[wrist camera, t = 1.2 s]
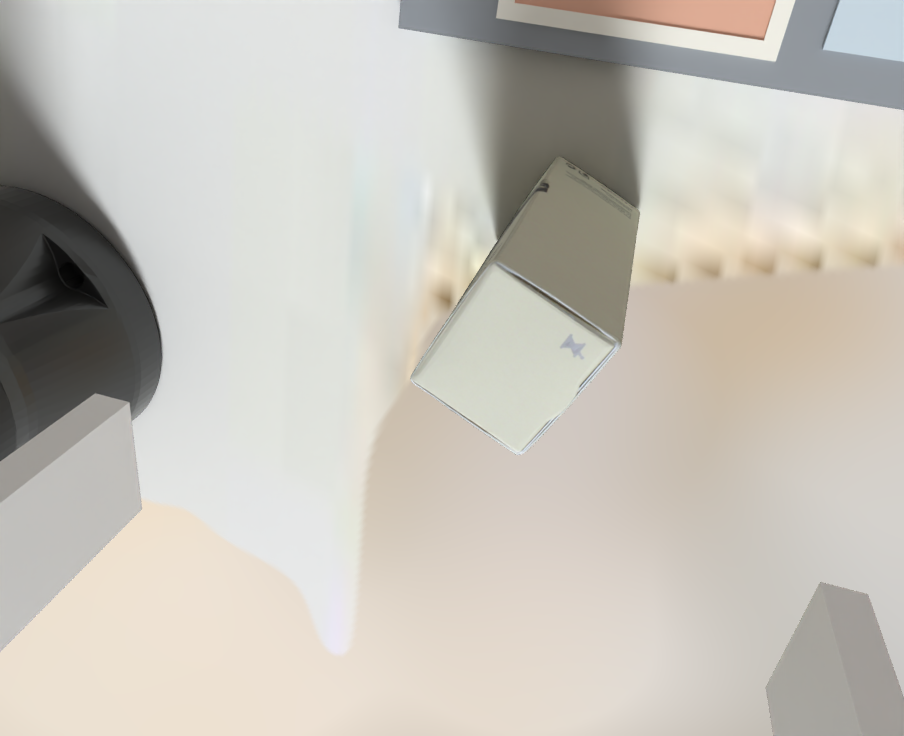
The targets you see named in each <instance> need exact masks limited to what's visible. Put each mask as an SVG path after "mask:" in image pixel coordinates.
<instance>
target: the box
mask: <svg viewBox="0 0 904 736" xmlns="http://www.w3.org/2000/svg"><path fill="white" fill-rule="evenodd" d="M639 216H640V212H639V210H638V209H636V208H635V207H633V206H632V205H631V204H629V203H628V202H627V201H625V200H624V199H623V198H621V197H620V196H618V195H617V194H616V193H614V192H613V191H611V190H610V189H609V188H607V187H606V186H604V185H603V184H601V183H600V182H598V181H597V180H595V179H594V178H593V177H591V176H590V175H588V174H587V173H585V172H584V171H582V170H581V169H579V168H578V167H576V166H575V165H573V164H572V163H570V162H569V161H567V160H565V159H564V158H562V157H557V158H556V159H555V160H554V161H553V162H552V164H551V165H550V167H549V168H548V169H547V171H546V172H545V173H544V175H543V176H542V177H541V179H540V180H539V181H538V183H537V184H536V186H535V187H534V188H533V190H532V191H531V193H530V194H529V195H528V197H527V198H526V200H525V201H524V202H523V204H522V205H521V206H520V208H519V209H518V211H517V213H516V214H515V216H514V217H513V219H512V220H511V222H510V223H509V225H508V226H507V228H506V229H505V231H504V232H503V234H502V235H501V237H500V238H499V240H498V241H497V243H496V244H495V246H494V247H493V249H492V250H491V252H490V253H489V255H488V257H487V258H486V260H485V261H484V263H483V264H482V266H481V268H480V269H479V271H478V272H477V274H476V275H475V277H474V279H473V280H472V282H471V283H470V285H469V286H468V288H467V289H466V291H465V293H464V294H463V296H462V297H461V299H460V301H459V302H458V304H457V306H456V307H455V309H454V310H453V312H452V313H451V315H450V316H449V318H448V319H447V321H446V322H445V324H444V325H443V327H442V328H441V330H440V331H439V333H438V334H437V336H436V337H435V338H434V340H433V342H432V343H431V345H430V346H429V348H428V349H427V351H426V352H425V354H424V356H423V357H422V359H421V360H420V362H419V364H418V365H417V367H416V368H415V370H414V372H413V373H412V375H411V378H410V379H411V382H412V383H413V384H414V385H416V386H417V387H419V388H420V389H422V390H423V391H425V392H426V393H428V394H429V395H431V396H432V397H434V398H435V399H436V400H437V401H439V402H441V403H442V404H443V405H444V406H446V407H447V408H449V409H450V410H451V411H453V412H455V413H456V414H457V415H459V416H460V417H461V418H463V419H464V420H466V421H467V422H468V423H470V424H471V425H473V426H474V427H476V428H477V429H478V430H480V431H481V432H483V433H484V434H486V435H487V436H489V437H490V438H492V439H493V440H495V441H496V442H497V443H499V444H501V445H502V446H504V447H505V448H506V449H508V450H509V451H511V452H512V453H514V454H515V455H521V454H524V453H525V452H526V451H528V450H529V449H530V448H531V447H532V446H533V445H534V444H535V443H536V442H537V441H538V440H539V439H540V438H541V437H542V435H544V433H545V432H546V431H547V430H548V429H549V428H550V427H551V426H552V425H553V423H555V422H556V421H557V420H558V418H559V417H560V416H561V415H562V414H563V413H564V412H565V411H566V410H567V409H568V408H569V407H570V406H571V404H572V403H573V402H574V401H575V400H576V398H577V397H578V396H579V395H580V394H581V393H582V392H583V390H584V389H585V388H586V387H587V386H588V385H589V384H590V383H591V382H592V380H593V379H594V378H595V377H596V376H597V375H598V373H599V372H600V371H601V370H602V368H604V366H605V365H606V364H607V363H608V361H609V360H610V359H611V358H612V357H613V356H614V354H615V353H616V352H617V351H618V350H619V349H620V347H621V345H622V338H623V331H624V323H625V316H626V309H627V302H628V295H629V288H630V279H631V273H632V265H633V258H634V250H635V243H636V235H637V229H638V223H639Z"/></svg>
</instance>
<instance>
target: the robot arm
mask: <svg viewBox="0 0 904 736" xmlns="http://www.w3.org/2000/svg"><path fill="white" fill-rule="evenodd" d="M160 370H161V346H160V339H159V334H158V329H157V325H156V321H155V318H154V315H153V312H152V310H151V307H150V305H149V302H148V300H147V298H146V296H145V293H144V291H143V290H142V288H141V286H140V284H139V282H138V281H137V279H136V277H135V276H134V274H133V272H132V271H131V270H130V268H129V267H128V265H127V264H126V262H125V261H124V260H123V259H122V257H121V256H120V255H119V253H118V252H117V251H116V250H115V249H114V248H113V246H112V245H111V244H110V243H109V242H108V241H107V240H106V239H105V238H104V237H103V236H102V235H101V234H100V233H99V232H98V231H97V230H96V229H94V228H93V227H92V226H91V225H90V224H88V223H87V222H86V221H85V220H83V219H82V218H81V217H79V216H78V215H77V214H75V213H74V212H72V211H71V210H69V209H68V208H66V207H64V206H62V205H61V204H59V203H57V202H55V201H53V200H51V199H49V198H47V197H44V196H42V195H40V194H37V193H34V192H31V191H28V190H24V189H20V188H14V187H6V186H0V652H1V650H3V648H4V647H5V646H6V645H7V644H8V643H9V642H10V641H11V640H12V639H13V638H14V637H15V636H16V635H17V634H18V633H19V632H20V631H21V630H22V629H23V628H24V627H25V626H26V625H27V624H28V623H29V622H30V621H31V620H32V619H33V618H34V617H35V616H36V615H37V614H38V613H39V612H40V611H41V610H42V609H43V608H44V607H45V606H46V605H47V604H48V603H49V602H50V601H51V600H52V599H53V598H54V597H55V596H56V595H57V594H58V593H59V592H60V591H61V590H62V589H63V588H64V587H65V586H66V585H67V584H68V583H69V582H70V581H71V580H72V579H73V578H74V577H75V576H76V575H77V574H78V573H79V572H80V571H81V570H82V569H83V568H84V567H85V566H86V565H87V564H88V563H89V562H90V561H91V560H92V559H93V558H94V557H95V556H96V555H97V554H98V553H99V552H100V551H101V550H102V549H103V548H104V547H105V546H106V545H107V544H108V543H109V541H111V540H112V539H113V538H114V537H115V536H116V534H118V533H119V532H120V531H121V530H122V529H123V528H124V527H125V526H126V525H127V524H128V523H129V521H130V520H132V518H134V516H136V515H137V513H138V512H140V511H141V509H142V504H141V496H140V487H139V479H138V470H137V462H136V454H135V445H134V437H133V428H132V420H134V419H135V418H136V417H137V416H138V415H139V414H141V413H142V412H143V410H144V409H145V408H146V407H147V405H148V404H149V403H150V401H151V399H152V397H153V395H154V393H155V391H156V388H157V385H158V381H159V377H160ZM766 692H767V698H768V705H769V712H770V718H771V724H772V731H773V736H904V697H903V694H902V691H901V688H900V685H899V682H898V679H897V676H896V674H895V671H894V668H893V665H892V662H891V659H890V657H889V654H888V651H887V648H886V645H885V642H884V639H883V636H882V633H881V630H880V628H879V625H878V622H877V619H876V616H875V613H874V610H873V607H872V605H871V602H870V599H869V596H868V594H864V593H861V592H857V591H853V590H849V589H845V588H841V587H838V586H834V585H830V584H826V583H822V582H820V584H819V586H818V588H817V589H816V591H815V593H814V595H813V597H812V599H811V601H810V603H809V605H808V607H807V609H806V611H805V612H804V614H803V616H802V618H801V620H800V622H799V624H798V626H797V628H796V630H795V632H794V634H793V636H792V637H791V639H790V642H789V643H788V645H787V647H786V649H785V651H784V653H783V655H782V657H781V659H780V661H779V663H778V665H777V666H776V668H775V670H774V672H773V674H772V676H771V678H770V680H769V682H768V684H767V686H766Z"/></svg>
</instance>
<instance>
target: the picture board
mask: <svg viewBox="0 0 904 736" xmlns="http://www.w3.org/2000/svg"><path fill="white" fill-rule="evenodd" d="M399 28H401V29H407V30H414V31H420V32H426V33H432V34H438V35H444V36H451V37H457V38H463V39H469V40H475V41H481V42H488V43H494V44H500V45H506V46H512V47H518V48H525V49H531V50H537V51H543V52H549V53H555V54H562V55H568V56H574V57H580V58H586V59H592V60H599V61H605V62H611V63H617V64H623V65H629V66H636V67H642V68H648V69H654V70H660V71H666V72H673V73H679V74H685V75H691V76H697V77H703V78H710V79H716V80H722V81H728V82H734V83H740V84H747V85H753V86H759V87H765V88H771V89H777V90H784V91H790V92H796V93H802V94H808V95H814V96H821V97H827V98H833V99H839V100H845V101H851V102H858V103H864V104H870V105H876V106H882V107H888V108H895V109H901V110H904V0H401V3H400V16H399Z"/></svg>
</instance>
